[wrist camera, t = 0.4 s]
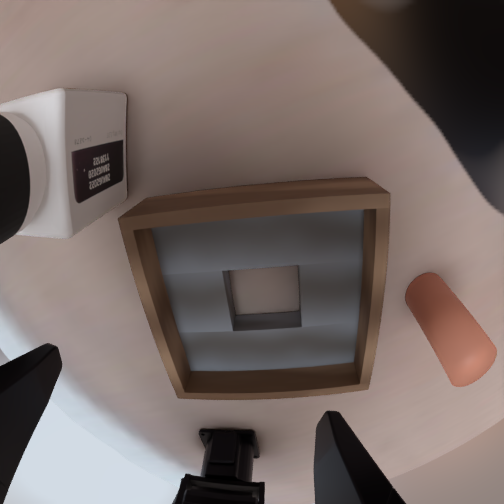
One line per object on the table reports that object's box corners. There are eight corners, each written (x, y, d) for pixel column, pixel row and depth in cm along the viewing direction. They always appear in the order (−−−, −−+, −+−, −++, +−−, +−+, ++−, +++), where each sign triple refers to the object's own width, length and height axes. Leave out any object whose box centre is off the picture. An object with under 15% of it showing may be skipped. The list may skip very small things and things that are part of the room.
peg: (438, 307, 23) (485, 379, 15) (402, 313, 23) (443, 392, 15) (445, 270, 22) (504, 338, 13) (408, 275, 22) (460, 350, 14)
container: (128, 92, 18) (-23, 88, 6) (129, 200, 21) (4, 295, 9) (45, 104, 18) (-94, 127, 6) (49, 198, 21) (-72, 271, 9)
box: (357, 351, 25) (368, 389, 21) (189, 361, 27) (178, 398, 23) (366, 177, 19) (390, 193, 15) (146, 198, 21) (118, 218, 17)
